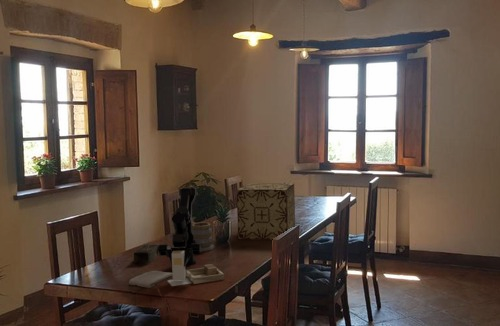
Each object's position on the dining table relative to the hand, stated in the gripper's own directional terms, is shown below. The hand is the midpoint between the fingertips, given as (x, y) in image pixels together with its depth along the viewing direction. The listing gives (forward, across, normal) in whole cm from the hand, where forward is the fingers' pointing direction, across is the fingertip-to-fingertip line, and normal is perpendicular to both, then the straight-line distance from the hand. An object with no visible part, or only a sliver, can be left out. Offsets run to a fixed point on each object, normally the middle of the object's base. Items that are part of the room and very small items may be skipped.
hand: (178, 266), depth 224 cm
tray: (+1, +11, +10) cm, 15 cm away
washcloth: (+2, -13, +10) cm, 17 cm away
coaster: (+5, 0, +6) cm, 8 cm away
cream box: (+3, 0, +5) cm, 6 cm away
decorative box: (-60, +42, +73) cm, 103 cm away
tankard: (-40, +2, +52) cm, 65 cm away
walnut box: (-2, +13, +12) cm, 18 cm away
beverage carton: (-24, -23, +36) cm, 49 cm away
